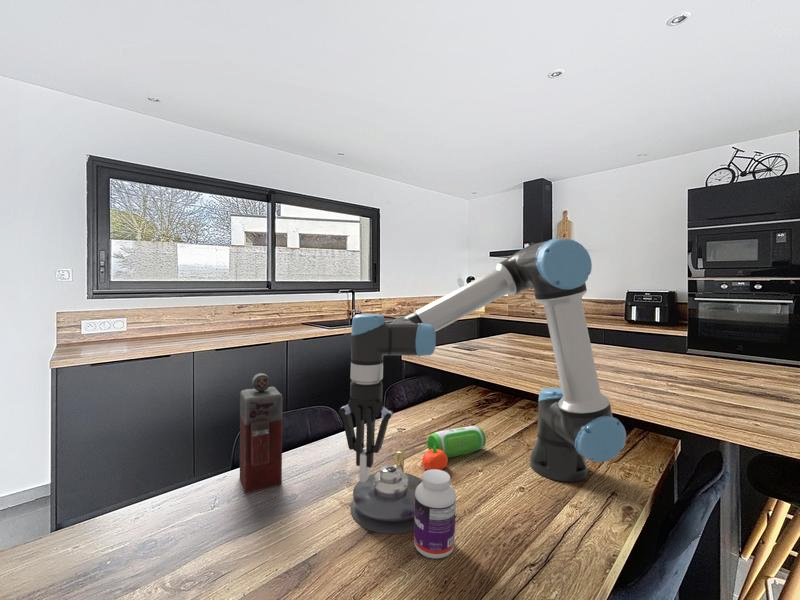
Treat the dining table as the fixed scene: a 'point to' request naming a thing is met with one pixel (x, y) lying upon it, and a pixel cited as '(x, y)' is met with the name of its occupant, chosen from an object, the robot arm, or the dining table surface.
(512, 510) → the dining table surface
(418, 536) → the pill bottle
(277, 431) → the vintage gas pump
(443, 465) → the pumpkin
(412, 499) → the turntable
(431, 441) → the speaker
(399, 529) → the turntable base
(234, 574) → the dining table surface
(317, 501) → the dining table surface
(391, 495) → the cover
